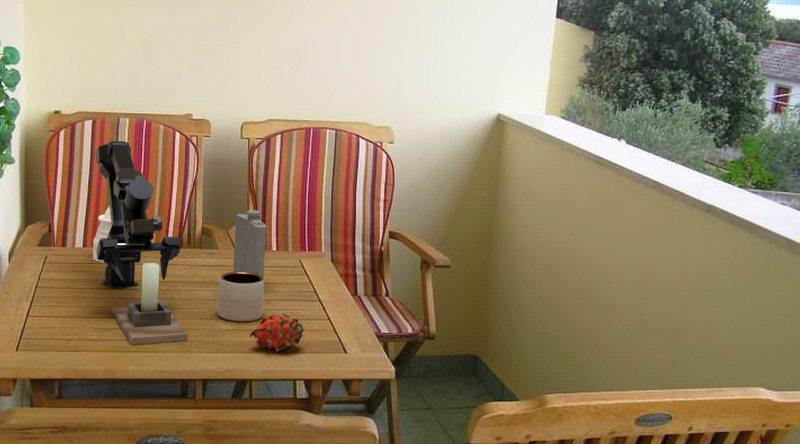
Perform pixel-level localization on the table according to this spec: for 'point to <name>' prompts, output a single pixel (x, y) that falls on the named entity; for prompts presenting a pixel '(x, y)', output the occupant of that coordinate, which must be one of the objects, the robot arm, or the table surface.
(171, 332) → the keeper
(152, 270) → the pale green peg
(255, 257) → the hip flask
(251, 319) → the planter
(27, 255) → the table surface
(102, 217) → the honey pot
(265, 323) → the dragon fruit
